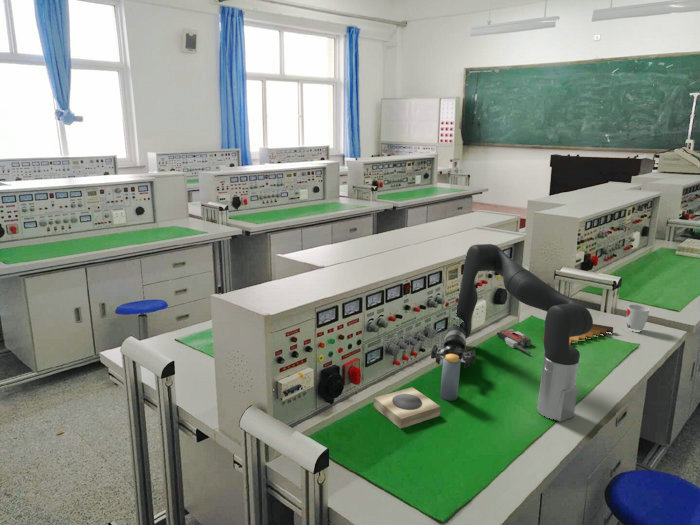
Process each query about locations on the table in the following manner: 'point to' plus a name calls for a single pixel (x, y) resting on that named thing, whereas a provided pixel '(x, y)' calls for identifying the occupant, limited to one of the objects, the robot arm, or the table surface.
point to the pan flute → (591, 333)
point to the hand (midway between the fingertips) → (452, 363)
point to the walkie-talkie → (515, 339)
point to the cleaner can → (450, 377)
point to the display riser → (406, 407)
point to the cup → (637, 316)
